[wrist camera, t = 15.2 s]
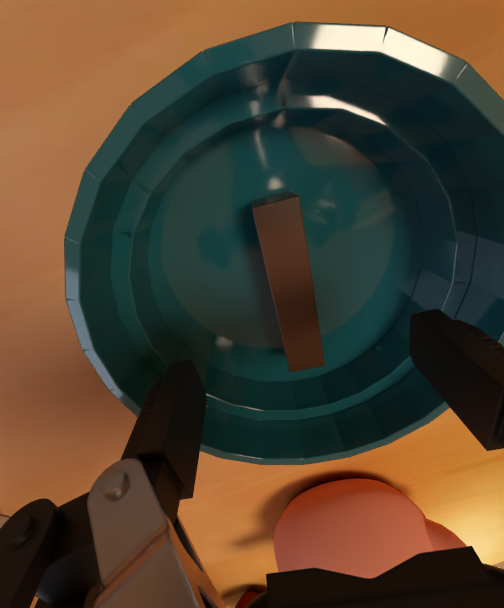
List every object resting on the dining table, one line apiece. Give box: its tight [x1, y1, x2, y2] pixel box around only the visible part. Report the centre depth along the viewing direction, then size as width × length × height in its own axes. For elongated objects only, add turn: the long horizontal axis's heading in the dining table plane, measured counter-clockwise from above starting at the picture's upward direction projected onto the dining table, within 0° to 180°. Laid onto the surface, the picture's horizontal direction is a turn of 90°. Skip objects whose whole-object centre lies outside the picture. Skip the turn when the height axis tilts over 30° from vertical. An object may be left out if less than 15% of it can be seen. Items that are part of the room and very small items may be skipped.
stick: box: [251, 191, 325, 372], centre depth 15 cm, size 10×2×2 cm, turn 14°
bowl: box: [64, 22, 504, 465], centre depth 14 cm, size 19×19×6 cm
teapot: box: [273, 479, 467, 579], centre depth 24 cm, size 22×15×12 cm
